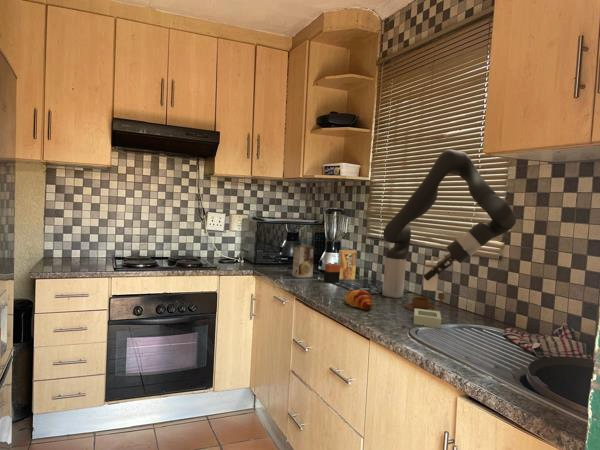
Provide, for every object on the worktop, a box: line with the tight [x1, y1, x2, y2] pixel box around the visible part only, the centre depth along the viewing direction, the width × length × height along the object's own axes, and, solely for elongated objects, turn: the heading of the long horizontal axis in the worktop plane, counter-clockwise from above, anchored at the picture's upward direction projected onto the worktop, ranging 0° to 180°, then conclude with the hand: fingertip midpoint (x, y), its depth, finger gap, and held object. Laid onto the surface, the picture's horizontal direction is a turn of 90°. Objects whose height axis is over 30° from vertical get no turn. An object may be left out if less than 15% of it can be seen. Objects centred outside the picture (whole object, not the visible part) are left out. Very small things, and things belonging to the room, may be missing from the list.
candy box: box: [337, 249, 358, 281], centre depth 237 cm, size 9×4×15 cm, turn 107°
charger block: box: [422, 256, 439, 292], centre depth 159 cm, size 5×5×12 cm
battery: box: [323, 262, 340, 284], centre depth 224 cm, size 4×7×10 cm, turn 113°
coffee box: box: [292, 245, 315, 278], centre depth 234 cm, size 9×6×16 cm
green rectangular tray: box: [413, 307, 443, 329], centre depth 160 cm, size 12×9×3 cm
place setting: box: [405, 292, 445, 312], centre depth 180 cm, size 18×20×6 cm
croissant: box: [344, 289, 373, 310], centre depth 178 cm, size 21×10×8 cm, turn 17°
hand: (425, 277), depth 159 cm, fingers closed on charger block, 4 cm apart
